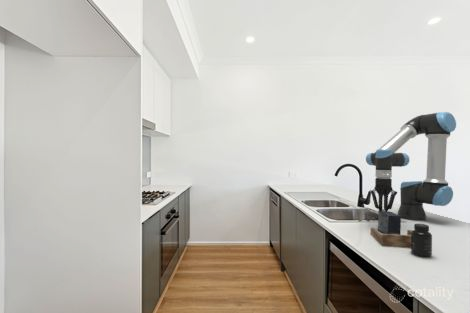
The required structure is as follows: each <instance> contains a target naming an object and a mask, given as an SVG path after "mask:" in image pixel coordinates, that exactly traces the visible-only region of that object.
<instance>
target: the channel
mask: <svg viewBox="0 0 470 313" xmlns="http://www.w3.org/2000/svg"><path fill="white" fill-rule="evenodd" d="M412 231H413V230H410V229H407V230H406V233H407V234H400V235H397V234H383V233H381V232H380V231H378V230H376V228H374V227H370V235H371V236H372V238H374V239H375V240H376V241H377V243H379V244H380V245H381V246H382V247H390V248H391V247H394V248H395V247H396V248H406V247H407V248H409V249H411V232H412Z"/></svg>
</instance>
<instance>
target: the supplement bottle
mask: <svg viewBox="0 0 470 313" xmlns="http://www.w3.org/2000/svg"><path fill="white" fill-rule="evenodd" d="M413 224H414V225H413V230H411V231H412V232H411V248H410V253H411V254H412V255H414V256H416V257H419V258H425V257H426V258H427V257H428V258H431V257H432V255H433V234H432V233H431V232H429V231H430V226H429V225H428V224H425V223H413ZM426 258H425V259H426Z"/></svg>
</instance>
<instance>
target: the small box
mask: <svg viewBox="0 0 470 313" xmlns="http://www.w3.org/2000/svg"><path fill="white" fill-rule="evenodd" d="M377 212H378V213H377V214H378V219H377V220H378V223H377V224H378V225H377V226H378V227H377V232H379V233H381V234H397V235H401V228H402V226H401V225H402V224H401V223H402V222H401V221H402V218H401V216H400V215H397V213H394V212H392V211H389V210H388V211H379V210H377Z"/></svg>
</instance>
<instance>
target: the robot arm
mask: <svg viewBox="0 0 470 313" xmlns="http://www.w3.org/2000/svg"><path fill="white" fill-rule="evenodd" d="M456 128H457V119H456V118H455V116H454V115H453V114H452V113H450V112H448V111H442V112H434V113H428V114H421V115H418V116H415V117H414V118H411V119H410V120H408V121H407V122H406V123H404V124H403V125H402V126H401V127H400V130H399V131H398V132H397V133H395V134H394V135H393V136H392V137H391V138H389V139H388V140H387V141H386V142H385V143H384V144H382V145H381V146H380V147H379V148H377V149H376V151H374V152H370V153H367V155H366V156H365V162H366V164H368V165H369V166H374V167H375V175H374V176H375V179H374V180H375V181H374V182H375V186H374V188H373V189H370V190H369V192H370V194H371V195H372V196H371V197H372V201H373V203H374V208H376V209H377V210H378V211H389V210H392V209H393V205H394V202H395V198H396V196H397V194H398V191H396V190H394V189H393V186H392V182H393V180H392V173H393V172H392V171H393V170H392V168H393V167H396V168H398V167H399V168H401V167H406V166H408V165H409V164H410V156H409V155H408V154H407V153H405V152H397V151H399V149H401V148H402V147H403V146H404V145H405V144H407V142H408V141H409V140H411V139H414V138H415V137H416V136H418V135H423V134H424V136H425V138H427V153H426V154H427V155H426V156H427V158H426V159H427V160H426V178H425V179H424V180H423V181H422V180H417V181H416V180H415V181H402V182H401V183H400V188H399V189H400V204H399V208H398V210H397V213H396V214H397V215H400V216H401V219H403V220H404V219H405V220H411V221H425V220H427V214H426V211H425V209H424V205H423V204H428V205H433V206H439V207H446V206H448V204H450V203H451V202H452V200H453V197H454V191H453V188H452V187H451V186H449V182H448V181H447V180H446V163H447V162H446V161H447V144H448V142H447V141H448V140H447V139H448V138H449V137H451V133H453V132H454V131H455V130H456ZM376 194H378V195H377V196H378V199H377V196H376ZM389 195H390V197H389Z"/></svg>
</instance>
